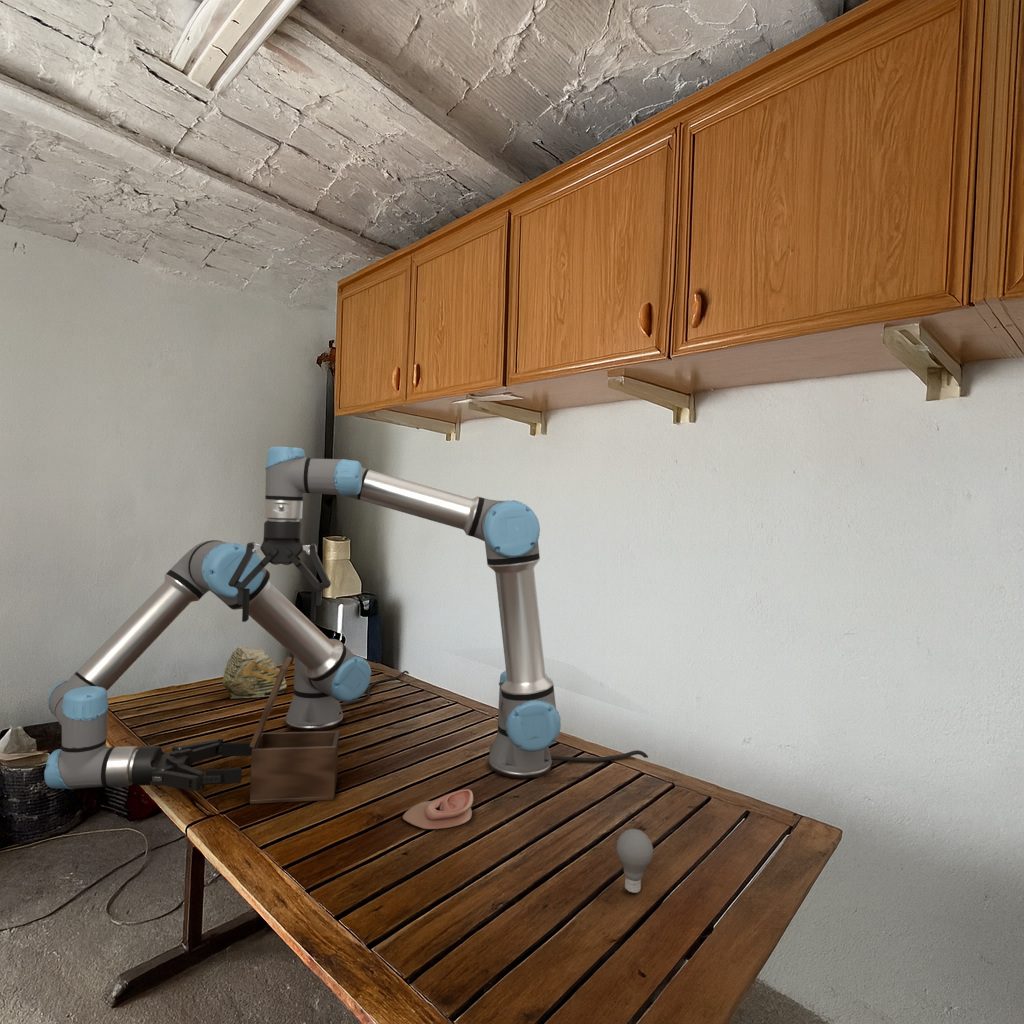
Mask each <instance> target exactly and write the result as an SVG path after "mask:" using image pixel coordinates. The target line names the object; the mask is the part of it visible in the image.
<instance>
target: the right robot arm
mask: <svg viewBox="0 0 1024 1024" xmlns="http://www.w3.org/2000/svg"><path fill="white" fill-rule="evenodd" d="M305 453H306V452H305V450H304V449H303V448H301V447H295V446H294V447H291V446H272V447H270V448H268V450H267V454H266V457H267V458H266V465H265V467H264V468H265V469H264V470H265V496H264V498H265V499H264V512H263V513H264V516H263V517H264V518H265V519H266V521H264V522H263V541H262V543H256V542H254V541H250V542H248V543H246V547H247V548H246V553H245V555H244V557H243V559H242V560H241V562H240V564H239V566H238V567H237V569H236V571H235V573H234V574H233V576H232V578H231V579H230V581H229V583H228V585H229V586H230V587H235V588H237V590H238V602H237V603H238V605H243V610H242V609H241V610H242V611H241V612H242V614H241V615H242V616H241V622H242V623H246V622H247V621H248V620H250V619H249V618H250V616H249V595H250V589H246V586H247V585H248V584H249V583H250V582H251V581H252V580H253V579H254V578H255V577H256V576H257V575H258V574H259V572H260V571H261V570H262V569H263V568H266V567H267V566H268V565H269V563H270V564H271V565H273V566H277V565H284V566H289V565H292V564H293V565H294V566H295V568H297V569H298V570H299V571H300V573H301V575H303V577H305V579H306V580H307V581H308V582H309V584H310V586H312V587H313V588H314V589H312V590H311V597H310V598H311V599H310V600H311V601H310V621H311V622H312V623H315V621H316V617H317V606H321V604H322V603H323V602H322V601H323V597H322V596H323V590H326V589H329V588H330V587H331V585H332V582H331V580H330V578H329V576H328V574H327V572H326V569H325V567H324V565H323V563H322V561H321V559H320V557H319V555H318V550H317V549H318V548H317V547H318V546H317V544H316V543H311V544H303V542H302V532H303V531H302V530H303V523H302V522H301V521H300V520H302V519H303V507H304V506H303V504H304V503H303V502H304V494H318V495H334V496H335V495H336V496H337V495H338V496H343V497H347V498H350V499H354V500H358V501H362V502H364V503H369V504H372V505H375V506H378V507H379V506H380V507H382V508H387V509H390V510H393V511H397V512H400V513H402V514H403V513H404V514H408V515H410V516H415V517H418V518H421V519H423V520H424V519H425V520H429V521H431V522H435V523H439V524H443V525H445V526H449V527H453V528H456V529H459V530H463V532H464V533H465V535H466V536H468V537H473V538H475V539H477V540H479V541H483V542H484V548H485V554H486V555H485V556H486V563H487V564H486V565H487V567H489V568H490V569H491V570H492V571H494V574H495V575H494V576H495V583H496V590H497V591H496V592H497V601H498V611H499V619H500V628H501V639H502V646H503V647H502V648H503V655H504V664H505V670H504V671H502V672H501V673H500V676H499V682H498V686H499V691H498V711H497V712H498V713H497V731H496V736H495V738H494V742H493V744H492V745H490V746H489V756H488V767H489V769H491V770H492V772H494V773H496V774H498V775H500V776H503V777H505V778H506V777H507V778H511V779H522V780H523V779H524V780H525V779H536V778H540V777H542V776H545V775H546V774H548V773H549V772H550V771H551V770H552V762H553V761H559V762H578V763H597V762H599V763H600V762H608V761H615V760H620V759H626V758H629V757H632V756H636V755H638V756H639V755H640V756H642V757H643V758H645V759H648V758H649V756H648V754H647V753H646V752H644V751H642V750H638V749H637V750H631V751H628V752H625V753H621V754H614V755H607V756H599V757H579V756H577V757H576V756H559V755H551V752H550V748H549V747H550V746H552V745H553V744H554V742H556V740H557V739H558V737H559V735H560V732H561V727H562V722H561V721H562V720H561V715H560V712H559V711H558V709H557V705H556V704H557V703H556V694H555V687H554V681H553V679H552V678H550V677H549V676H548V674H547V673H546V667H545V666H546V665H545V657H544V648H543V640H542V639H543V638H542V631H541V620H540V612H539V611H540V610H539V603H538V594H537V593H538V592H537V583H536V576H535V575H536V574H535V567H536V565H537V564H538V563H539V562H540V560H541V557H540V547H539V539H540V533H541V526H540V521H539V518H538V516H537V514H536V513H535V511H534V510H533V509H532V508H531V507H530V506H528V505H527V504H525V503H523V502H521V501H518V500H495V499H489V498H485V497H481V496H475V497H474V498H470V497H467V496H462V495H459V494H455V493H452V492H450V491H445V490H442V489H439V488H435V487H432V486H427V485H425V484H421V483H417V482H414V481H411V480H407V479H404V478H400V477H398V476H393V475H390V474H386V473H383V472H379V471H376V470H372V469H368V468H366V467H363V466H362V463H361V462H360V461H358V460H351V459H347V458H342V459H341V458H338V459H337V458H313V457H306V454H305ZM259 550H260V551H261V553H262V554H263V556H264V557H263V559H261V562H260V563H259V564H258V565H257V566H256V567H255V568H254V569H253V570H252V571H251V572H250V573H249V575H248V576H247V577H246V578H245V579H244V580H243V581H242V582H239V579H240V577H241V575H242V574H243V572H244V570H245V568H246V567H247V565H248V563H249V561H250V560H251V558H252V556H253V554H254V553H256V554H257V553H258V551H259ZM303 552H305V553H306V554H307V555H308V556H310V559H311V561H312V564H313V566H314V567H315V569H316V572H317V574H318V576H319V578H320V580H321V582H320V581H319V580H318V578H317V577H316V576H315V575H314V574H313V572H312V571H311V569H309V568H308V566H307V565H306V564H305V563H304V562H303V560H302V559H301V557H300V555H301V554H302V553H303Z"/></svg>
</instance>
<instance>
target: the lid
mask: <svg viewBox="0 0 1024 1024" xmlns="http://www.w3.org/2000/svg"><path fill="white" fill-rule="evenodd" d="M292 659H293V657H291V656H286V658H285V660H284V662H283V663H282V665H281V666H280V669H279V670H280V671H276V670H273V669H270V668H267V667H264V666H261V665H258V664H257V663H256V662H255V661H250V662H249V663H248V665H247V666H246V667H245V668H244V670H243V672H242V673H243V675H244V676H249V675H253V676H256V677H259V678H262V679H266V680H269V681H272V682H275V684H274V686H273V689H272V691H271V694H270V696H268V699H267V702H266V704H265V707H264V709H263V711H262V714H261V716H260V719H259V721H258V724H257V726H256V729H255V731H254V733H253V736H252V739H251V741H250V742H251V744H250V747H253V748H254V747H255V745H256V743H257V741H258V739H259V737H260V735H261V733H263V732H264V729H265V727H266V724H267V722H268V719H269V716H270V714H271V711H272V709H273V707H274V704H275V701H276V699H277V696H278V695H279V694H278V692H279V689H280V687H281V684H282V682H283V679H284V677H286V674H287V671H288V669H289V667H290V664H291V662H292ZM254 668H257V669H260V670H263V671H266V672H269V673H272V674H276V675H278V676H277V678H273V677H270V676H267V675H264V674H261V673H258V672H254V671H253V670H254Z"/></svg>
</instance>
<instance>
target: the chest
mask: <svg viewBox="0 0 1024 1024" xmlns="http://www.w3.org/2000/svg"><path fill="white" fill-rule="evenodd" d="M339 741H340V730H325V731H313V732H301V731H282V732H281V731H280V732H277V731H276V732H262V733H261V735H260V737H259V739H258V741H257V743H256V745H255V747H254V748H252V754H251V756H250V757H251V760H250V780H249V781H250V783H249V784H250V785H249V804H250V805H255V804H256V805H257V804H275V803H276V804H277V803H278V804H279V803H296V802H297V803H298V802H299V803H300V802H314V801H315V802H316V801H334V800H335V795H336V788H337V783H338V771H339V770H338V769H339V767H338V766H339Z"/></svg>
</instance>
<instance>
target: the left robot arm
mask: <svg viewBox="0 0 1024 1024" xmlns="http://www.w3.org/2000/svg"><path fill="white" fill-rule="evenodd" d="M246 548H247V545H243V544H240V543H236V542H226V541H222V540H218V539H211V540H205V541H203V542H200V543H198V544H196V545H195V546H193V547H192V548H191V549H189V550H188V551H187V552H186V553H185V554H184V555H183V556H182V557H181V558H180V559H179V560H178V561H177V562H176V563H175V564H174V565H173V566H172V567H171V568H170V569H169V570H168V571H167V572H166V573H165V574H164V581H163V583H161V585H160V586H158V588H157V589H156V590H155V591H154V592H153V593H152V594H151V595H150V596H149V597H148V598H147V599H146V600H145V601H144V602H143V603H142V604H141V605H140V606H139V607H138V608H137V610H135V611H134V612H133V613H132V614H131V616H129V618H128V619H126V621H124V622H123V624H121V626H119V628H117V630H116V631H115V632H114V633H113V634H112V635H111V636H110V637H109V638H108V639H107V640H106V641H105V642H104V643H103V644H102V645H101V646H100V647H99V648H98V649H97V650H96V651H95V653H93V654H92V656H90V657H89V659H87V660H86V662H85V663H84V664H82V665H81V667H79V669H77V670H76V671H75V672H74V673H73V674H72V675H71V676H70V677H69V678H68V679H65V680H62V681H59V682H58V683H56V684H55V685H54V686H53V687H52V688H51V689H50V691H49V693H48V695H47V705H48V709H49V711H50V713H51V714H52V715H53V717H55V719H56V720H57V722H58V723H59V725H60V726H61V744H60V745H61V746H60V747H61V748H58V749H55V750H53V752H51V753H50V755H49V756H48V758H47V760H46V764H45V765H46V766H45V769H44V773H43V777H44V782H45V784H46V786H47V787H48V788H50V789H58V790H76V789H77V790H78V789H92V788H93V789H94V788H112V787H117V788H118V789H122V788H124V787H130V786H133V785H134V786H135V787H136V786H138V787H139V786H164V787H169V788H174V789H179V790H186V791H191V792H196V791H203V790H204V789H205V785H208V786H209V785H225V784H226V785H227V784H241V782H242V767H232V768H209V769H206V770H205V771H202V770H200V769H197V768H194V767H192V765H193V764H194V763H197V762H201V761H204V760H208V759H211V758H214V757H215V758H216V757H218V756H221V757H222V758H223V757H225V758H227V757H248V756H249V757H251V754H252V748H253V747H250V744H251V741H244V742H243V741H242V742H224V738H217V739H211V740H207V741H200V742H196V743H189V744H184V745H174V746H172V747H171V751H170V752H166V753H164V751H163V748H162V746H161V745H142V746H140V747H139V746H138V745H133V746H131V745H129V746H107V733H108V732H107V730H108V712H109V711H108V709H109V707H110V705H109V701H108V699H109V698H108V691H109V690H110V689H111V687H112V686H113V685H114V684H115V683H116V682H117V681H118V680H119V679H120V678H121V677H122V676H123V675H124V674H125V673H126V671H128V670H129V668H131V666H132V665H133V664H134V663H135V662H136V661H137V660H138V659H139V658H140V657H141V656H142V655H143V654H144V652H146V650H147V649H148V648H150V646H151V645H152V644H153V643H154V642H155V641H156V640H157V639H158V638H159V637H160V636H161V635H162V634H163V633H164V631H165V630H166V629H167V628H168V627H169V626H170V625H171V624H172V623H174V621H175V620H176V619H177V618H178V617H179V616H180V614H181V613H182V612H183V611H184V610H186V608H188V607H189V605H190V604H191V603H194V602H198V601H200V600H201V599H202V598H203V596H205V595H206V594H207V593H208V592H211V593H212V594H213V595H214V596H216V597H217V598H218V599H219V600H221V602H223V603H224V604H225V605H226V606H227V607H228V608H229V609H231V610H232V611H236V610H243V605H238V603H237V602H238V590H237V588H235V587H230V586H229V585H228V583H229V581H230V579H231V578H232V576H233V574H234V573H235V571H236V569H237V567H238V566H239V564H240V562H241V560H242V559H243V557H244V555H245V553H246ZM261 561H262V559H261V558H260V556H259V555H258V554H257V553H254V554H253V556H252V558H251V560H250V561H249V563H248V565H247V567H246V568H245V570H244V572H243V574H242V575H241V577H240V579H239V582H242V581H243V580H244V579H245V578H246V577H247V576H248V575H249V573H250V572H251V571H252V570H253V569H254V568H255V567H256V566H257V565H258V564H259V563H260V562H261ZM271 577H272V575H271V572H270V571H269V570H267V568H266V567H264V568H263V569H262V570H261V571H260V572H259V574H258V575H257V576H256V577H255V578H254V579H253V580H252V581H251V582H250V583H249V584H248V585H247V586H246V589H250V595H249V618H251V620H254V621H255V622H256V623H257V624H258V625H259V626H260V627H261V628H262V629H263V630H265V632H267V633H268V634H269V635H270V636H271V637H272V638H274V639H275V640H276V642H278V643H279V644H280V645H281V646H282V647H284V648H285V649H286V650H287V651H288V652H289V653H290V654H292V656H293V657H294V672H293V695H292V696H293V697H292V699H291V702H290V704H289V708H288V711H287V713H286V715H285V726H286V728H287V729H289V730H291V731H294V732H313V731H330V730H332V729H335V728H337V727H339V726H340V725H342V723H343V722H344V714H343V709H342V707H346V706H351V705H353V704H358V703H361V702H364V701H366V700H368V699H369V698H370V697H371V693H370V690H371V689H372V687H373V686H374V685H377V684H379V683H384V682H389V681H394V680H397V679H399V678H401V677H402V676H403V675H404V674H407V675H409V674H410V672H409V671H408V670H403V671H402V672H400V673H399V674H398V675H396V676H393V677H388V678H384V679H379V680H377V681H374V682H373V683H371V684H370V682H371V680H372V679H371V677H372V668H371V666H370V664H369V662H368V661H367V660H366V659H365V658H364V657H361V656H359V655H358V656H357V655H356V654H354V653H353V652H352V651H351V650H350V649H349V648H348V647H347V646H346V645H345V644H344V643H343V642H342V641H340V640H339V639H336V638H329V637H328V636H326V634H324V633H323V631H321V630H320V628H318V627H317V625H315V624H314V622H311V619H309V618H308V617H307V616H306V615H304V613H302V611H300V609H298V608H297V607H296V606H295V605H294V604H293V602H291V600H289V599H288V598H287V597H286V596H285V595H284V594H283V593H282V592H281V591H279V589H278V588H277V587H276V586H274V585H273V583H271ZM401 674H402V675H401ZM364 693H366V694H367V696H365V697H363V698H360V697H362V695H364ZM359 698H360V699H359ZM341 702H343V703H341Z"/></svg>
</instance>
